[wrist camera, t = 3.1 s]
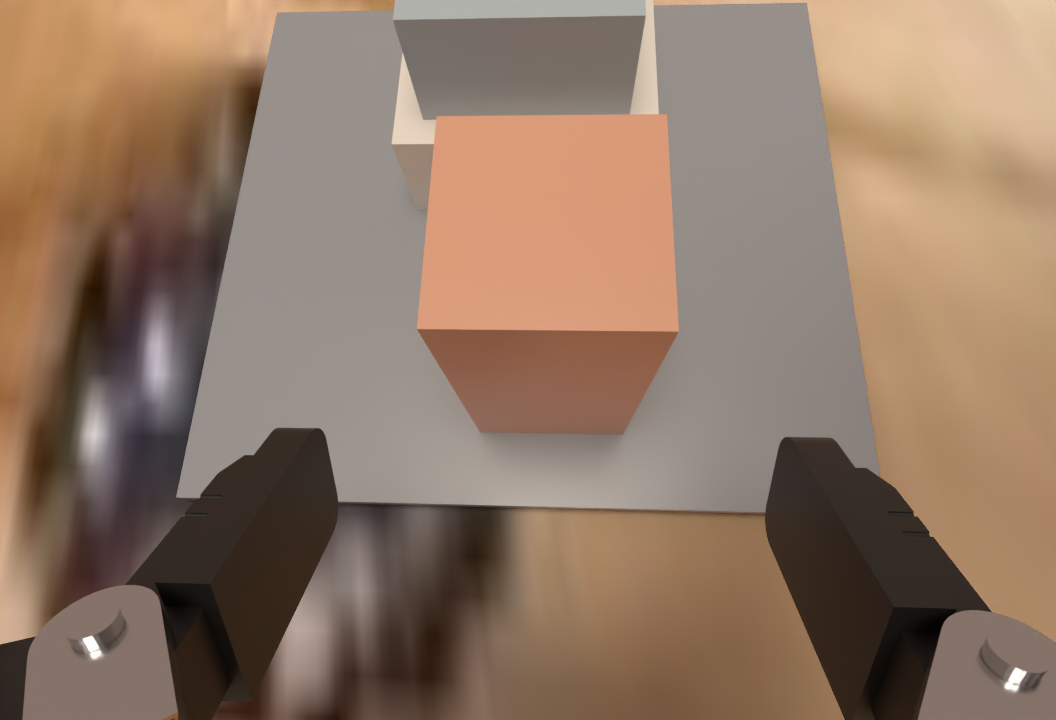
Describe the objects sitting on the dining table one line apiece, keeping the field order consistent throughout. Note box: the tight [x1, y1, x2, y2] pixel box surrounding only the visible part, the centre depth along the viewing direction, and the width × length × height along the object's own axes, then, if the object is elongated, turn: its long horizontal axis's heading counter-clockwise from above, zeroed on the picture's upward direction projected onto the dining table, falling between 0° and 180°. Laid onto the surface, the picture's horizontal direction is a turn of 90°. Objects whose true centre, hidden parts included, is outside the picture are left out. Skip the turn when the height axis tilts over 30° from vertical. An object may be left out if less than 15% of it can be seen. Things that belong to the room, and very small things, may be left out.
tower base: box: [392, 0, 659, 210], centre depth 21 cm, size 9×9×8 cm
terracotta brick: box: [417, 114, 679, 435], centre depth 17 cm, size 5×5×10 cm
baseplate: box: [176, 3, 880, 514], centre depth 24 cm, size 24×22×1 cm
